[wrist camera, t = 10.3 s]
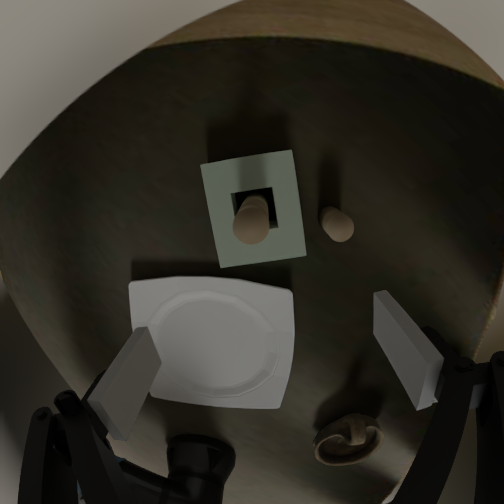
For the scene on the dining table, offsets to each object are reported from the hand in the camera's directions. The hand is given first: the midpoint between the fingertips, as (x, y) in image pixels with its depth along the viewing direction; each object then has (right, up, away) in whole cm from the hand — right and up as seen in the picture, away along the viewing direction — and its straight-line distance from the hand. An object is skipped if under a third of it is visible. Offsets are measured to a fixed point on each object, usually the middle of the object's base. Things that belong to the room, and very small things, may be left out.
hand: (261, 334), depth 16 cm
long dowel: (0, +10, +20) cm, 23 cm away
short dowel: (+9, +9, +21) cm, 24 cm away
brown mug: (+18, -29, +32) cm, 47 cm away
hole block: (0, +10, +20) cm, 23 cm away
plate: (-7, -10, +28) cm, 30 cm away
